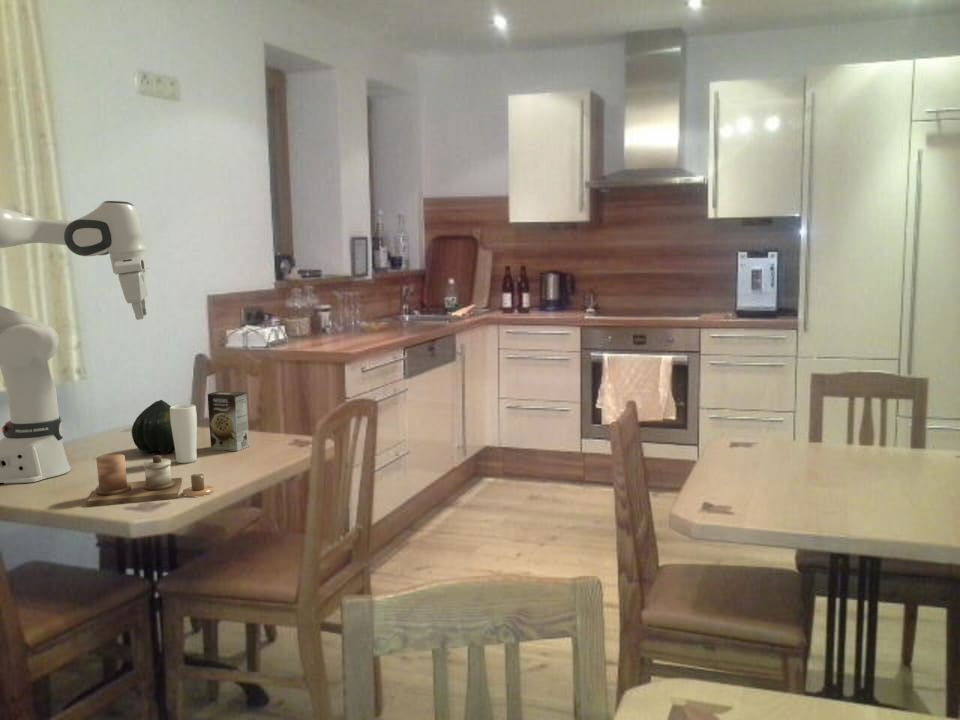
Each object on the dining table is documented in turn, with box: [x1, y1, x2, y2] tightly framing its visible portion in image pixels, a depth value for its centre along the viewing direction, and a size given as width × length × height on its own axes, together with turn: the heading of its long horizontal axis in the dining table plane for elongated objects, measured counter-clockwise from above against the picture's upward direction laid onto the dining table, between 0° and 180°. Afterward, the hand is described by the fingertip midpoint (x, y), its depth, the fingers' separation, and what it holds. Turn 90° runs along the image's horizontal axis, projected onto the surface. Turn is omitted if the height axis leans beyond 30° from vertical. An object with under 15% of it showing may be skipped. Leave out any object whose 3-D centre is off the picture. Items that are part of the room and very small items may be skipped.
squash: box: [131, 399, 175, 455], centre depth 245 cm, size 14×15×15 cm
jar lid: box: [182, 473, 215, 497], centre depth 201 cm, size 7×7×4 cm
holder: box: [86, 453, 183, 507], centre depth 201 cm, size 19×14×9 cm
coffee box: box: [207, 390, 250, 452], centre depth 245 cm, size 9×6×16 cm
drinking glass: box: [170, 403, 198, 464], centre depth 231 cm, size 7×7×15 cm
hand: (141, 317), depth 223 cm, fingers open, 8 cm apart
